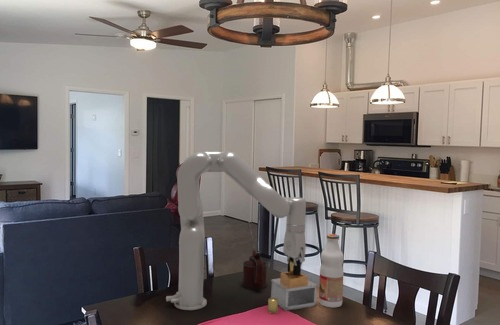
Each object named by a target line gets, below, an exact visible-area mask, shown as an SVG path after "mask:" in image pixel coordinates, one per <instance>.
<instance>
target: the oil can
mask: <svg viewBox="0 0 500 325" xmlns="http://www.w3.org/2000/svg"><path fill="white" fill-rule="evenodd" d="M247 225H248V227H249V233H250V242H251V247H252V248H251V249H252V254H251V255H250V256H249V258H248V259H249V260H246V261H245V260H244V261H243V262H242V265H243V268H242V272H243V273H242V287H244V288H246V289H249V290H262V289H264V288H266V287H267V270H268V269H267V267H268V263H267V262H266V261H264V260H262V257H261V251H256V247H255V241H254V236H253V231H252V230H253V229H252V225H251V224H250V223H247Z"/></svg>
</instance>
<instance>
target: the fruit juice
mask: <svg viewBox="0 0 500 325" xmlns="http://www.w3.org/2000/svg"><path fill="white" fill-rule="evenodd" d="M326 239H327V242H326V245H325V247H324V249H323V250H322V251H321V253H320V260H321V264H320V268H319V283H318V284H319V289H318V302H319V304H320V305H321V306H323V307H326V308H332V309H333V308H340V307H341V306H342V305H343V297H344V295H343V294H344V266H343V263H344V260H345V258H344V257H345V256H344V252H342V250H341V248H340V243H339V240H340V235H339V234H336V233H328V234H326Z"/></svg>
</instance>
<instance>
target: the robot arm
mask: <svg viewBox="0 0 500 325" xmlns="http://www.w3.org/2000/svg"><path fill="white" fill-rule="evenodd" d="M205 173H225V174H226V175H227V176H228V177H229V178H230V179H232V181H234V183H236V185H238V187H240V188H241V189H242V190H243V191H245V192H246V193H247V195H250V196H251V197H252V198H254V199H255V200H256V201H257V202H258V203H260V205H262V206H263V207H264V208H265V209H266V210H267V211H268V212H269V213H270V214H272V215H273V217H275V218H277V219H283V218H285V217H286V222H285V224H286V226H285V227H286V228H285V231H284V232H285V234H284V238H283V254H284V255H286V259H287V260H286V261H287V272H290V261H292V260H294V265H293V275H294V276H295V275H300V274H301V273H302V272H301V271H302V270H301V269H302V268H301V267H302V265H303V263H304V262H305V261H306V258H305V256H306V235H305V233H306V213H307V212H306V209H307V208H306V207H307V202H306V199H305V198H303V197H297V196H291V197H286V196H282V195H281V194H280V193H279V192H277V190H276V189H274V188H273V187H272V186H271V185H270V184H269V183H268V182H267V181H266V180H265V179H264V178H263V177H262V176H261V175H260V174H259V173H258V172H257V171H256V170H254V168H253V167H252V166H250V165H249V163H247V162H246V161H245V160H244V159H242V157H240V156H239V155H238V154H237V153H236V152H234V151H229V150H228V151H198V152H197V151H196V152H195V153H193V154H191V155H189V157H187V158H186V159H185V160H184V161H183V162H182V163H181V165H180V166H179V168H178V172H177V178H176V179H177V201H178V205H177V206H178V207H177V211H178V215H179V216H180V217H179V220H180V232H179V239H178V250H179V252H178V253H179V254H178V255H179V256H178V257H179V258H178V291H176V293H175V294H174V295H167V296H166V297H165V301H166V302H170V303H172V304H174V305H173V306H174V307H175V308H177V309H179V310H183V311H195V310H201V309H203V308H204V307H206V306H207V302H208V301H207V299H206V298H205V297H204V269H205V268H204V265H205V264H204V262H205V257H204V256H205V240H206V239H205V237H206V236H205V234H206V233H205V221H204V209H203V208H204V207H203V202H202V199H201V190H200V189H201V188H200V178H201V177H202V175H203V174H205Z"/></svg>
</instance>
